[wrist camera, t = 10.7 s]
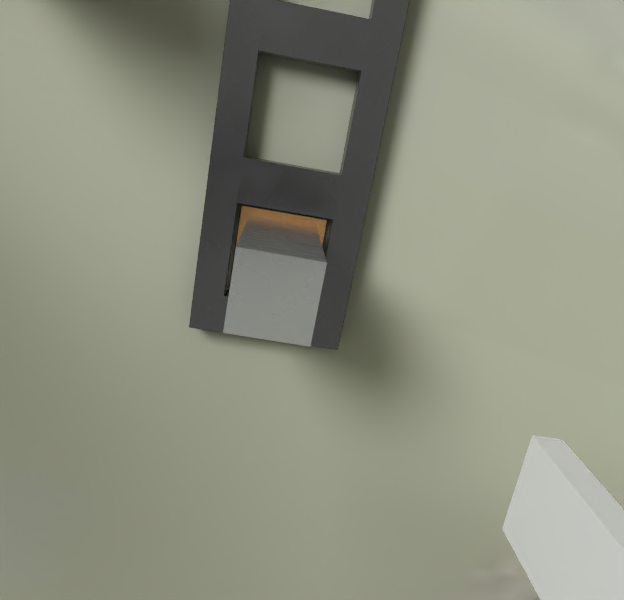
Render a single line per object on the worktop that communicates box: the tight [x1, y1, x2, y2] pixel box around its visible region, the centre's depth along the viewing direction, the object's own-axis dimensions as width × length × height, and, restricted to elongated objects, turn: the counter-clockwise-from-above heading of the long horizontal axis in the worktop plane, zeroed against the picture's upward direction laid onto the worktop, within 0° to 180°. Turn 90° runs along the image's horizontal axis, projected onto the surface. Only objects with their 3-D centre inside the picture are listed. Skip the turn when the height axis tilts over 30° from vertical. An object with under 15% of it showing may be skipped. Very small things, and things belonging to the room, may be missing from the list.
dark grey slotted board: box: [189, 0, 409, 350], centre depth 32 cm, size 9×26×1 cm, turn 170°
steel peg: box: [223, 215, 327, 347], centre depth 30 cm, size 4×4×9 cm
